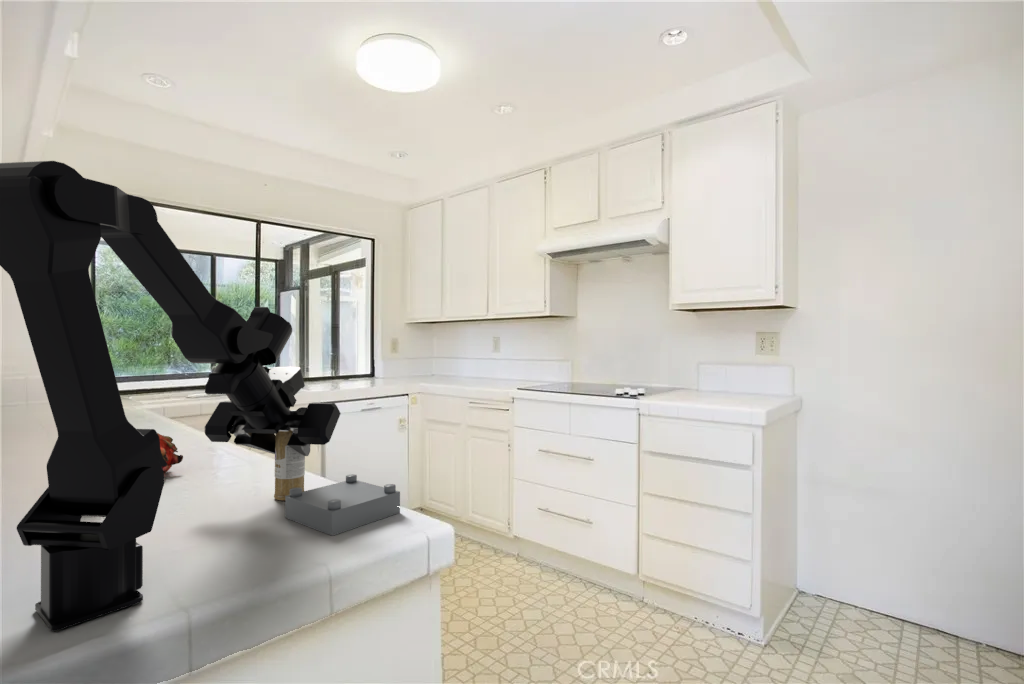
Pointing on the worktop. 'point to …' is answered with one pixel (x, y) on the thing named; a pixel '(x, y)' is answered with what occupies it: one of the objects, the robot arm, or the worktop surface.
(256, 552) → the worktop surface
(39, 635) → the worktop surface
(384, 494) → the base brick
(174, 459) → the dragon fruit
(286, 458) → the sprinkles bottle
